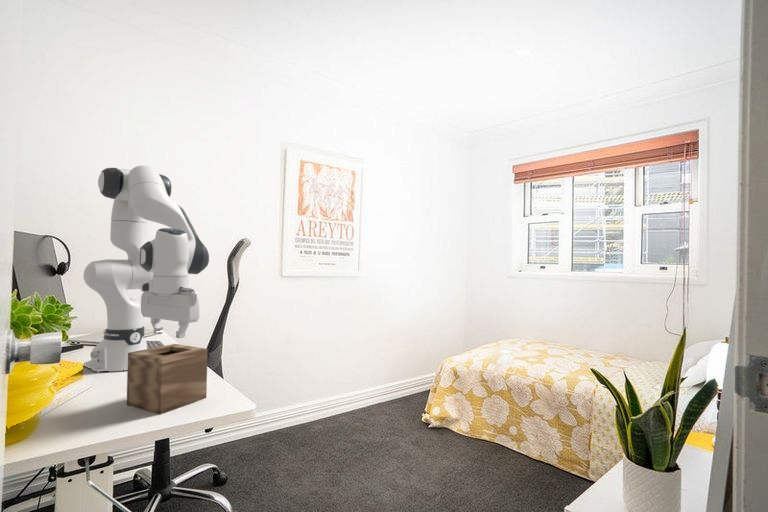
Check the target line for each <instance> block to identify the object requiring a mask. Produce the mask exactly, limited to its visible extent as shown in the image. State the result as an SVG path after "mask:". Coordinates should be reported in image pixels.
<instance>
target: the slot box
mask: <svg viewBox="0 0 768 512" xmlns="http://www.w3.org/2000/svg"><path fill="white" fill-rule="evenodd" d="M208 351H209V350H208V348H203V347H197V346H191V345H185V344H178V343H172V344H166V345H163V346H156V347H152V348H147V349H145V350H140V351H135V352H130V353H128V370H126V371H127V373H126V374H127V377H126V379H127V380H126V406H129V407H132V408H136V409H140V410H144V411H147V412H151V413H154V414H158V415H162V414H165V413H168V412H171V411H173V410H177V409H179V408H183V407H185V406H188V405H191V404H194V403H196V402H199V401H202V400H205V399H207V393H208V392H207V391H208V390H207V385H208V384H207V383H208ZM204 398H205V399H204Z"/></svg>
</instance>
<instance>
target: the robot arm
mask: <svg viewBox="0 0 768 512" xmlns="http://www.w3.org/2000/svg"><path fill="white" fill-rule="evenodd" d="M97 185H98V190H99V193H101V195H102V196H103V197H105V198H108V199H111V200H113V204H112V208H111V214H110V216H111V217H110V234H109V236H110V237H109V239H110V242H111V244H112V246H114V247H116V248H117V249H120V250H121V251H123V252H125V253H126V255H127V259H110V258H109V259H101V260H100V259H99V260H94V261H91V262H89V263H88V264H87V265H86V267H85V268H84V271H83V274H82V275H83V280H84V283H85V284H86V286H87V287H88V288H90V289H91V290H93V291H94V292H95V293H97V294H98V295H99V296H100V297H101V299H102V300H103V301H104V305H105V307H106V308H105V309H106V316H107V321H106V322H107V328H105V329H103V337H102V338H103V340H101V341H100V342H99V343H98V344H97V345H96V346H94V347H93V348H92V350H91V351H90V354H89V355H90V360H88V361H84V362H83V363H84V365H86V366H87V367H89V368H91V369H93V370H95V371H97V372H96V373H100V372H99V371H109V372H123V370H124V372H125V371H128V353H130V352H135V351H140V350H145V349H148V343H147V340H146V339H145V338H144V337H145V333H146V330H145V326H144V318H150V323H151V325H152V327H153V334H154V335H162V334H163V332H164V331H163V330H164V329H163V328H164V327H162V326H161V323H160V322H162V320H165V321H171V322H178V326H179V328H178V330H176V331H175V337H176V339H177V338H178V339H183V338H184V339H185V338H186V331H187V329H188V327H189V325H190V324H192V323H197V322H198V321H199V320H200V303H199V302H200V301H199V297H198V294H197V292H196V291H195V290H194V288H192V287H189V275H199V274H201V272H203V271H204V270H206V268H207V267H208V265H209V263H210V254H209V251H208V249H207V247H206V246H205V244H204V243H203V242H202V241H201V239H200V238H199V236H198V233H197V232H196V230H195V228H194V226H193V224H192V222H191V220H190V219H189V217H188V215H187V213H186V212H185V209H183V207H182V206H180V205H179V204H177V203H176V202H175V201H173V199H172V198H171V195H172V190H173V188H172V183H171V180H170V178H169V177H168V176H166V175H164V174H160V173H159V172H158V171H157V170H156V169H155V168H154V167H152V166H149V165H142V164H141V165H137V166H134V167H133V168H131V169H130V168H128V169H127V168H117V167H107V168H105V169H102V170H101V172H100V174H99V176H98V178H97ZM147 221H150V222H153V223H157V224H160V225H164V226H166V227H165V228H158V229H157V231H156V233H155V237H154V239H151V240H149V241H148V237H147V228H148V227H147V224H148V223H147ZM167 227H168V228H167ZM127 290H140V292H142V294H141V296H140V302H139V301H138V300H135V299H133V298H130V297H129V296H128V294H127Z"/></svg>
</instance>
